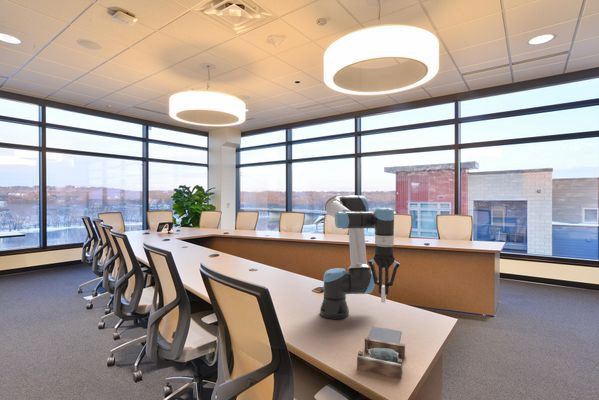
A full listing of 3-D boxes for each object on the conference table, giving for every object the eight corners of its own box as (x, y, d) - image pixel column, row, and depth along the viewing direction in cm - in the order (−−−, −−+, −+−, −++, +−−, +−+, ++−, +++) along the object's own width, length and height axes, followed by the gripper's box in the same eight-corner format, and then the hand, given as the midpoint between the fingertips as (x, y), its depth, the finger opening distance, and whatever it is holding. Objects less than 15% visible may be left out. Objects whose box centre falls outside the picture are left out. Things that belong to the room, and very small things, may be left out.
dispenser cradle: (357, 369, 110) (357, 355, 110) (366, 347, 127) (366, 335, 127) (401, 379, 105) (401, 364, 105) (405, 355, 121) (405, 342, 121)
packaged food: (366, 355, 119) (367, 342, 119) (398, 358, 118) (399, 345, 118) (369, 368, 111) (370, 354, 111) (403, 371, 109) (404, 357, 109)
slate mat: (366, 341, 132) (366, 340, 132) (372, 327, 147) (372, 326, 147) (398, 347, 127) (398, 346, 127) (401, 332, 142) (401, 331, 142)
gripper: (366, 245, 128) (366, 302, 129) (399, 247, 123) (398, 306, 124) (370, 242, 135) (369, 296, 136) (401, 245, 130) (400, 300, 130)
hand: (383, 301), depth 130 cm, fingers closed
